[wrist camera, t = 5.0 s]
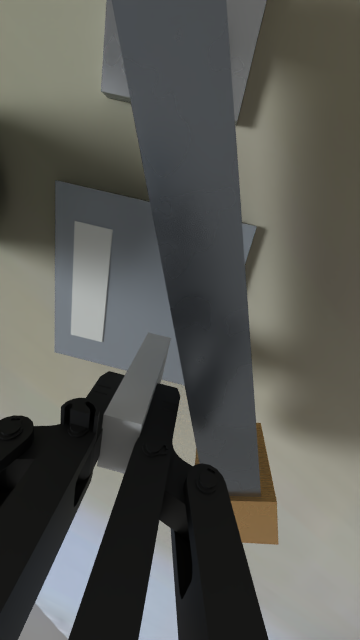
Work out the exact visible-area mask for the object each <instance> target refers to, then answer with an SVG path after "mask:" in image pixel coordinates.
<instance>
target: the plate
mask: <svg viewBox="0 0 360 640" xmlns="http://www.w3.org/2000/svg"><path fill="white" fill-rule="evenodd" d="M256 228H257V226H253V225H249V224H245V223H242V231H243V245H244V259H245V263H246V259H247V256H248V253H249V250H250V247H251V243H252V240H253V237H254V234H255V231H256ZM148 332H149V333H153V334H157V335H161V336H165V337H169V338H171V341H170V345H169V350H168V354H167V358H166V363H165V367H164V371H163V376H162V380H166V381H170V382H174V383H178V384H181V385H185V384H184V379H183V374H182V368H181V363H180V358H179V353H178V347H177V342H176V337H175V332H174V326H173V321H172V316H171V311H170V305H169V300H168V295H167V290H166V284H165V279H164V274H163V268H162V263H161V258H160V253H159V247H158V242H157V237H156V232H155V226H154V221H153V216H152V211H151V205H150V202H149V201H145V200H140V199H136V198H132V197H127V196H123V195H119V194H114V193H110V192H106V191H101V190H97V189H93V188H88V187H84V186H80V185H75V184H71V183H66V182H62V181H57V180H55V352H56V353H60V354H64V355H68V356H72V357H76V358H80V359H84V360H88V361H91V362H95V363H99V364H103V365H107V366H111V367H115V368H119V369H123V370H127V371H128V369H129V367H130V365H131V363H132V361H133V359H134V358H135V356H136V354H137V352H138V350H139V348H140V347H141V345H142V343H143V341H144V339H145V337H146V336H147V334H148Z"/></svg>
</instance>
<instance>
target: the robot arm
mask: <svg viewBox="0 0 360 640" xmlns="http://www.w3.org/2000/svg"><path fill="white" fill-rule="evenodd" d="M170 341H171V338H169V337H165V336H161V335H157V334H153V333H149V332H148V334H147V336H146V337H145V339H144V341H143V343H142V345H141V347H140V348H139V350H138V352H137V354H136V356H135V358H134V359H133V361H132V363H131V365H130V367H129V369H128V371H127V372H126V374H125V375H122V374H118V373H114V372H110V371H109V372H107V373H105V374H104V375H102V376H100V378H99V379H98V381H97V382H96V384H95V385H94V387H93V388H92V390H91V391H90V393H89V394H88V395H87V397H86V398H76V399H72V400H70V401H67V402H66V403H65V404H63V405H62V406H61V424H58V425H53V426H33V422H32V421H31V420H30V419H29V418H28V417H24V416H10V417H6V418H3V419H1V420H0V640H18V638H19V636H20V634H21V631H22V629H23V627H24V625H25V623H26V621H27V618H28V616H29V614H30V612H31V610H32V607H33V605H34V603H35V601H36V599H37V597H38V595H39V592H40V590H41V588H42V586H43V584H44V582H45V579H46V577H47V575H48V573H49V571H50V569H51V566H52V564H53V562H54V560H55V558H56V556H57V553H58V551H59V549H60V547H61V545H62V542H63V540H64V538H65V536H66V534H67V532H68V529H69V527H70V525H71V523H72V521H73V519H74V516H75V514H76V512H77V510H78V508H79V506H80V503H81V501H82V499H83V497H84V495H85V493H86V490H87V488H88V486H89V484H90V482H91V478H92V474H93V469H94V466H95V464H96V462H97V460H98V464H97V466H99V467H102V468H106V469H110V470H113V471H117V472H121V473H124V477H123V480H122V483H121V486H120V489H119V492H118V495H117V498H116V501H115V504H114V507H113V509H112V512H111V515H110V518H109V521H108V524H107V527H106V530H105V533H104V536H103V539H102V542H101V545H100V548H99V551H98V554H97V557H96V560H95V563H94V566H93V568H92V571H91V574H90V577H89V580H88V583H87V586H86V589H85V592H84V595H83V598H82V601H81V604H80V607H79V610H78V613H77V616H76V619H75V622H74V625H73V628H72V630H71V633H70V636H69V639H68V640H138V638H139V632H140V627H141V621H142V615H143V610H144V604H145V598H146V593H147V587H148V581H149V576H150V570H151V564H152V559H153V553H154V547H155V542H156V536H157V530H158V525H159V520H160V521H162V522H163V523H165V524H166V525H167V526H169V527H170V528H171V540H172V554H173V568H174V582H175V596H176V611H177V625H178V639H179V640H268V636H267V632H266V629H265V625H264V621H263V618H262V614H261V610H260V607H259V603H258V599H257V596H256V592H255V588H254V585H253V581H252V577H251V574H250V570H249V566H248V563H247V559H246V555H245V552H244V548H243V544H242V541H241V537H240V533H239V530H238V526H237V522H236V518H235V515H234V511H233V507H232V504H231V500H230V496H229V493H228V489H227V485H226V482H225V480H224V478H223V476H222V474H221V473H220V472H219V471H218V470H217V469H216V468H214V467H213V466H211V465H208V464H204V463H201V464H196V465H194V466H191V465H190V464H188V463H186V462H185V461H183V460H182V459H181V458H180V457H179V456H178V455H177V454H176V452H175V450H174V449H173V445H172V438H173V433H174V428H175V422H176V417H177V411H178V406H179V400H180V394H179V392H178V389H177V388H174V387H171V386H167V385H163V384H160V382H161V379H162V376H163V371H164V367H165V363H166V358H167V354H168V350H169V345H170Z"/></svg>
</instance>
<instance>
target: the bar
mask: <svg viewBox="0 0 360 640" xmlns="http://www.w3.org/2000/svg"><path fill="white" fill-rule="evenodd" d="M112 5H113V11H114V16H115V21H116V26H117V32H118V37H119V42H120V47H121V53H122V58H123V63H124V68H125V74H126V79H127V84H128V90H129V95H130V100H131V105H132V111H133V116H134V121H135V126H136V132H137V137H138V142H139V147H140V153H141V158H142V163H143V168H144V174H145V179H146V184H147V190H148V195H149V200H150V205H151V211H152V216H153V221H154V226H155V232H156V237H157V242H158V247H159V253H160V258H161V263H162V268H163V274H164V279H165V284H166V290H167V295H168V300H169V305H170V311H171V316H172V321H173V326H174V332H175V337H176V342H177V347H178V353H179V358H180V363H181V368H182V374H183V379H184V384H185V390H186V395H187V400H188V405H189V411H190V416H191V421H192V426H193V432H194V437H195V442H196V447H197V448H196V459H195V465H196V464H201V463H204V464H208V465H211V466H213V467H214V468H216V469H217V470H218V471H219V472H220V473H221V474H222V476H223V478H224V480H225V482H226V485H227V489H228V493H229V496H230V500H231V504H232V507H233V511H234V515H235V518H236V522H237V526H238V530H239V533H240V537H241V541H242V543H260V544H277V545H278V523H277V501H276V496H275V491H274V486H273V481H272V476H271V471H270V467H269V462H268V457H267V452H266V447H265V442H264V437H263V432H262V427H261V423H256V416H255V402H254V388H253V373H252V359H251V345H250V331H249V316H248V302H247V288H246V274H245V259H244V245H243V231H242V217H241V202H240V188H239V174H238V160H237V145H236V131H235V117H234V103H233V88H232V74H231V60H230V46H229V31H228V17H227V3H226V0H112Z"/></svg>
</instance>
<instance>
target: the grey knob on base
mask: <svg viewBox="0 0 360 640" xmlns="http://www.w3.org/2000/svg"><path fill="white" fill-rule="evenodd" d="M266 1H267V0H226V3H227V17H228V31H229V46H230V60H231V74H232V88H233V103H234V117H235V125H236V124H237V120H238V116H239V112H240V108H241V104H242V100H243V96H244V92H245V87H246V83H247V79H248V75H249V71H250V67H251V63H252V59H253V55H254V51H255V47H256V42H257V38H258V34H259V30H260V26H261V22H262V18H263V14H264V10H265V6H266ZM101 92H102V93H103V94H104V95H105V96H106V97H107V98H112V99H116V100H121V101H126V102H130V103H131V100H130V95H129V90H128V84H127V79H126V74H125V68H124V63H123V58H122V53H121V47H120V42H119V37H118V32H117V26H116V21H115V16H114V11H113V5H112V0H107V2H106V19H105V35H104V51H103V67H102V83H101Z"/></svg>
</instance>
